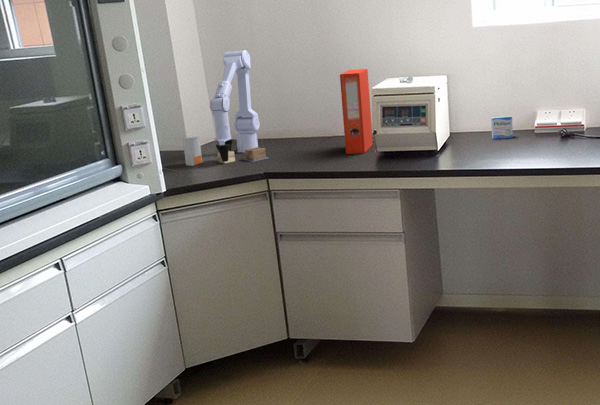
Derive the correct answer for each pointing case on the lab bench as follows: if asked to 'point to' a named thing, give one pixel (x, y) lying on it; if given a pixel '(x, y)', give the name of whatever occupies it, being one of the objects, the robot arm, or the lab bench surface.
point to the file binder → (356, 111)
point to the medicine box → (502, 127)
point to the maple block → (230, 157)
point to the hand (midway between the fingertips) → (226, 159)
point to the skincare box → (192, 150)
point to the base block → (255, 153)
